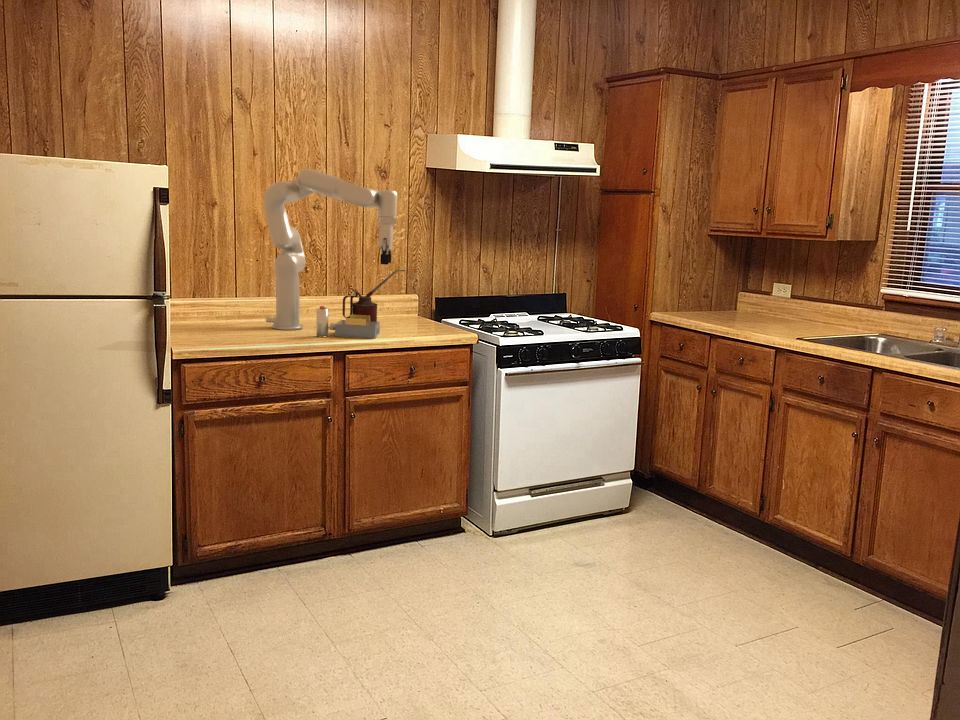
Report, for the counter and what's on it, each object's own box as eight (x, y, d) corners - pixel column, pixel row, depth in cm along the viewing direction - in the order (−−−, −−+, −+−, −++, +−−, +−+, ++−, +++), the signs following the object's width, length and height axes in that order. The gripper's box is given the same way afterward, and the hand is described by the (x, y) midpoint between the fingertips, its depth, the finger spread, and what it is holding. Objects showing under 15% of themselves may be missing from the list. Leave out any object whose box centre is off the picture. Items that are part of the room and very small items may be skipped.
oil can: (347, 329, 355) (348, 270, 351) (339, 325, 365) (340, 268, 360) (408, 327, 368) (410, 270, 364) (399, 324, 378) (401, 268, 373)
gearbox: (327, 336, 335) (327, 317, 333) (333, 331, 348) (334, 313, 346) (375, 338, 335) (375, 319, 333) (379, 333, 347) (379, 315, 346)
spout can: (315, 336, 332) (315, 306, 330) (317, 335, 337) (318, 305, 335) (326, 337, 332) (327, 307, 330) (329, 335, 337) (329, 305, 335)
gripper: (380, 220, 348) (379, 261, 351) (375, 221, 331) (373, 264, 334) (398, 221, 348) (397, 262, 351) (394, 222, 331) (392, 265, 334)
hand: (385, 263), depth 343 cm, fingers open, 9 cm apart
